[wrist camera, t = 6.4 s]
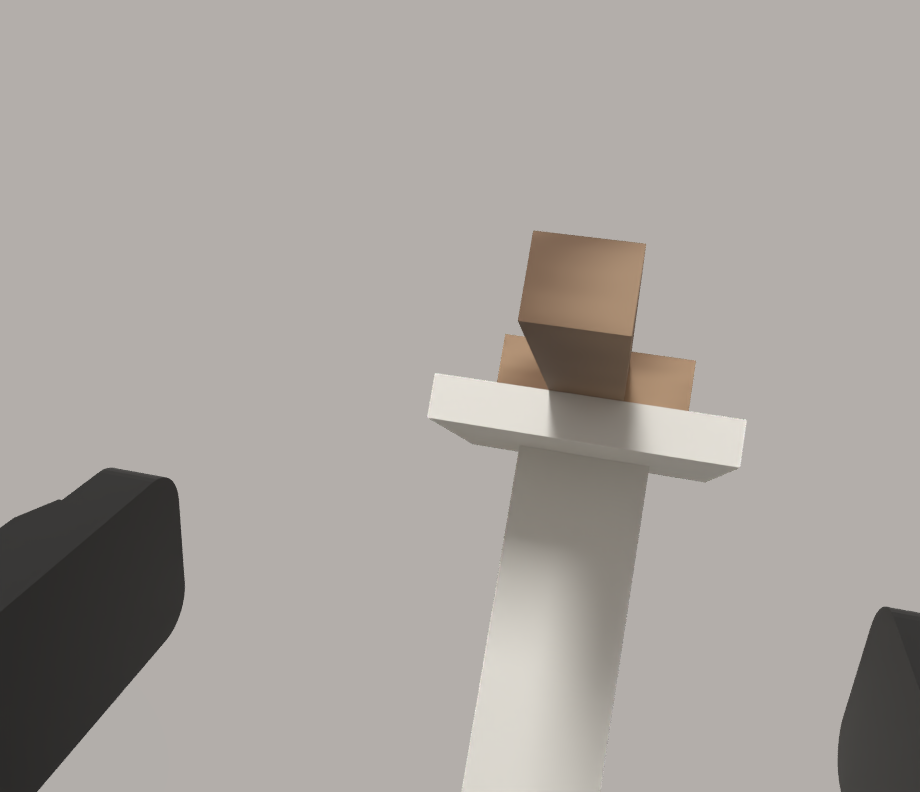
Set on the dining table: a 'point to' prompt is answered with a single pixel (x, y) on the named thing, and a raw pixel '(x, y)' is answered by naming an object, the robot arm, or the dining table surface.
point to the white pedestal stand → (566, 566)
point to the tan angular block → (588, 326)
